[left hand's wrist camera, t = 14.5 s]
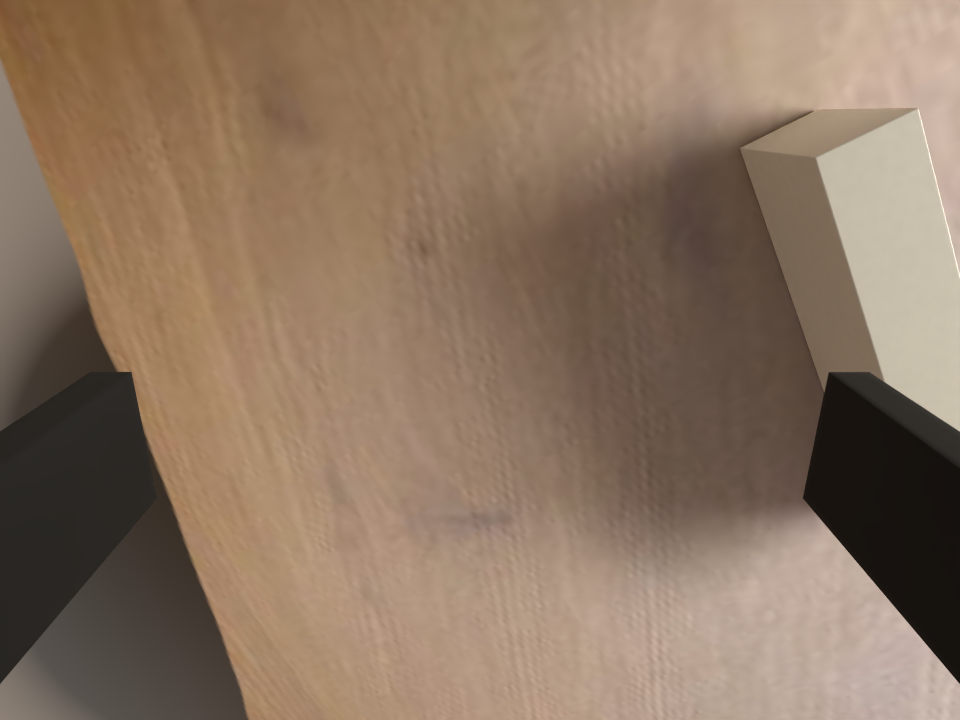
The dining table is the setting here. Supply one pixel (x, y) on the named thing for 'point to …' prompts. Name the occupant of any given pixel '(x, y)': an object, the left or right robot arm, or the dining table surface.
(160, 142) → the dining table surface
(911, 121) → the bar
